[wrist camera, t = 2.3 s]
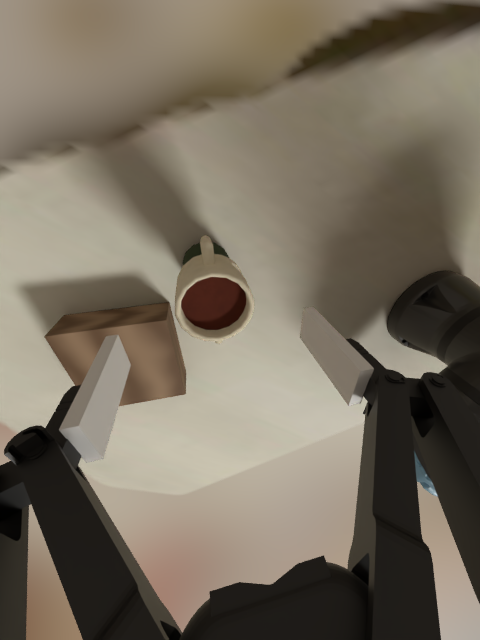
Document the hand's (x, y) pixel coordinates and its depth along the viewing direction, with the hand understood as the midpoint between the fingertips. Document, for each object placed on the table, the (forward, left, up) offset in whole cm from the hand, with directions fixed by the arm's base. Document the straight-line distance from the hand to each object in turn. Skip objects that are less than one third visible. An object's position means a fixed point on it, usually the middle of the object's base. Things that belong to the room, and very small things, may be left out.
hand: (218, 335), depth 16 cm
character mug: (0, 0, -17) cm, 17 cm away
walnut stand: (+13, +12, -17) cm, 25 cm away
